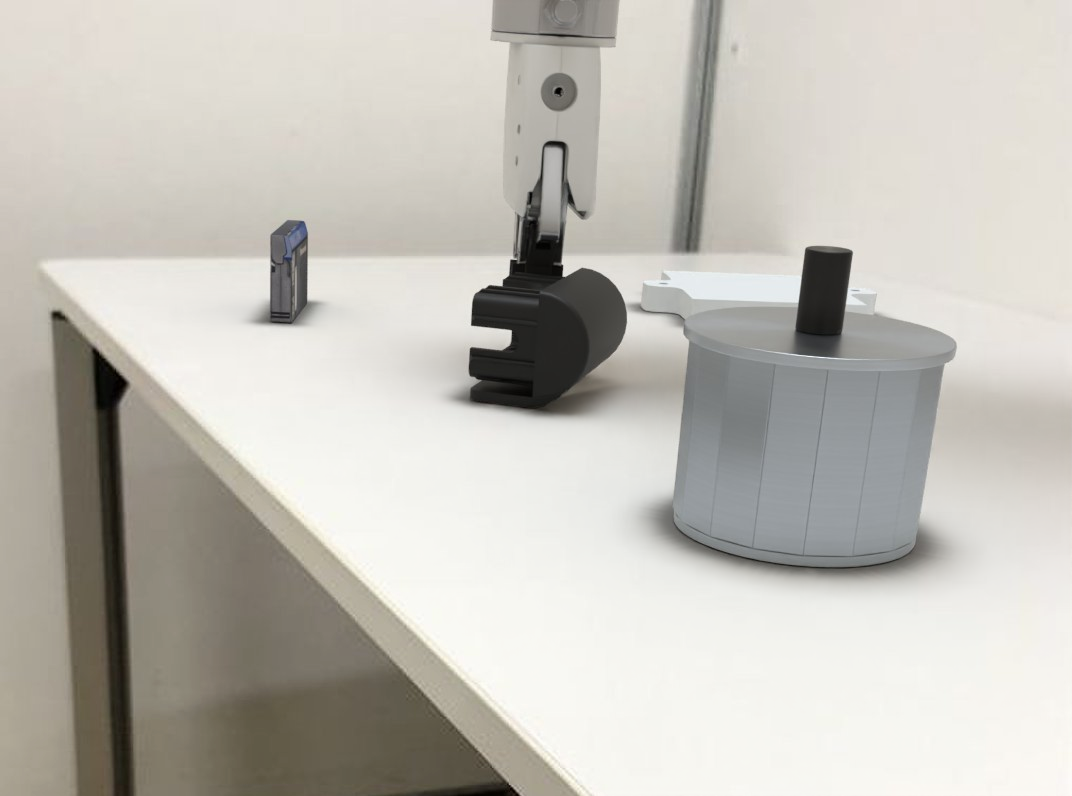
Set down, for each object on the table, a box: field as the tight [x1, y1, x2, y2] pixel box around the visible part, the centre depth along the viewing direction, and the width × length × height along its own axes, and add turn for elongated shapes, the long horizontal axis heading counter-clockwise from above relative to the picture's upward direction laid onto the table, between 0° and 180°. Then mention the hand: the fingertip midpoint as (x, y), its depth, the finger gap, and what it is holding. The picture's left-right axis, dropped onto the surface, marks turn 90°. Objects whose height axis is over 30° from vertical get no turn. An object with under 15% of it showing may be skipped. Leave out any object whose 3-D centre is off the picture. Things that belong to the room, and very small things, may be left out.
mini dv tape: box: [269, 219, 309, 324], centre depth 116 cm, size 8×2×6 cm, turn 176°
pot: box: [672, 340, 945, 568], centre depth 72 cm, size 11×11×8 cm
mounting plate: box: [640, 270, 878, 321], centre depth 125 cm, size 18×13×2 cm
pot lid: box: [682, 245, 958, 372], centre depth 70 cm, size 12×12×5 cm
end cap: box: [468, 267, 628, 409], centre depth 96 cm, size 10×7×7 cm
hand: (532, 325), depth 103 cm, fingers closed
